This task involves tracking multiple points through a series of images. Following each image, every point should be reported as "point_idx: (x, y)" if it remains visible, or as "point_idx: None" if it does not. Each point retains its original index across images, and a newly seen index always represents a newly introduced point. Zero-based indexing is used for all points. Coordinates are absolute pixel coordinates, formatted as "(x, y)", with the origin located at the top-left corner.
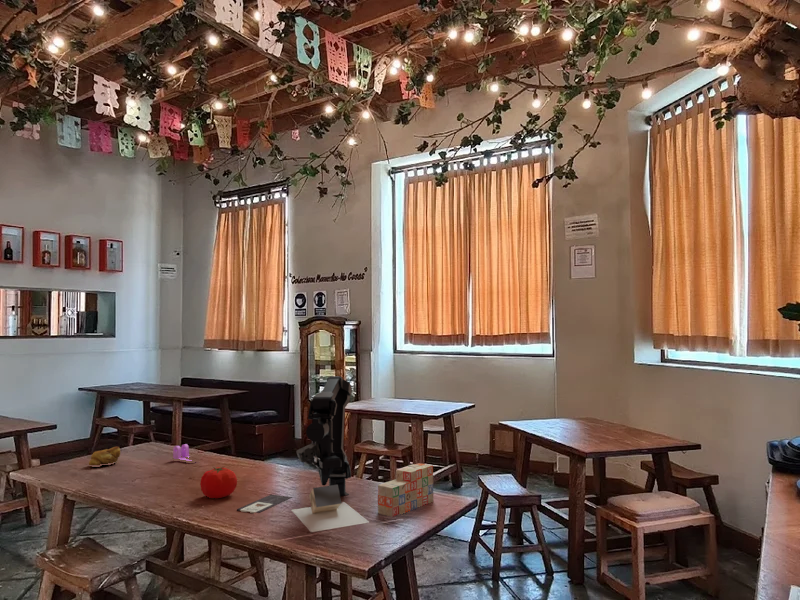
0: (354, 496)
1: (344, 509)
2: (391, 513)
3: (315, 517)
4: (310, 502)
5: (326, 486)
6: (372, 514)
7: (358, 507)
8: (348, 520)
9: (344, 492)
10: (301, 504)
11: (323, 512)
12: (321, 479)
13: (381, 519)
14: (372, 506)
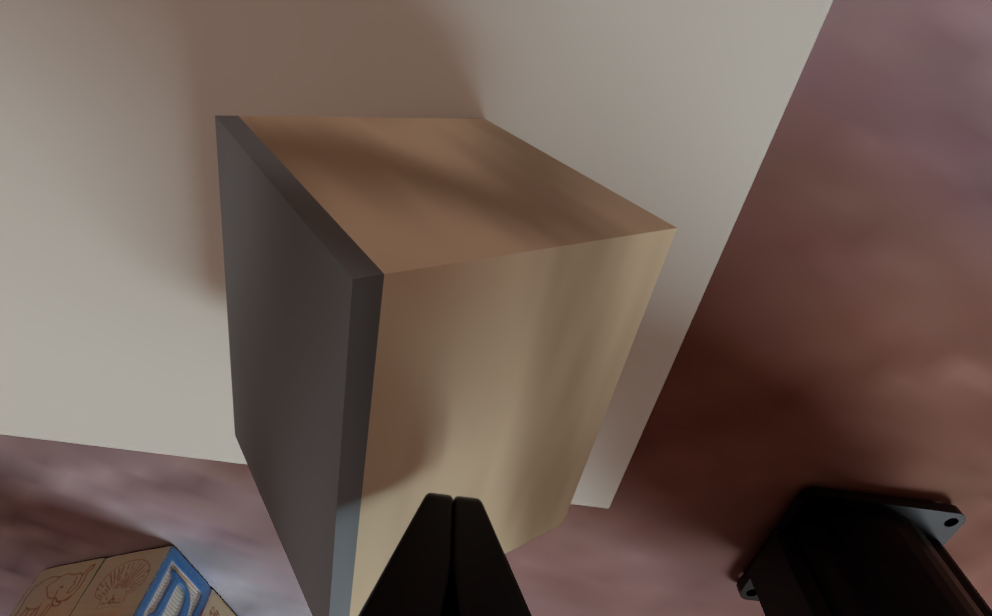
0: (694, 601)
1: None
2: (27, 597)
3: (313, 77)
4: (582, 174)
5: (331, 510)
6: (191, 520)
7: None
8: (46, 318)
9: (758, 594)
10: (943, 197)
11: None
12: (411, 600)
13: (36, 514)
14: None
